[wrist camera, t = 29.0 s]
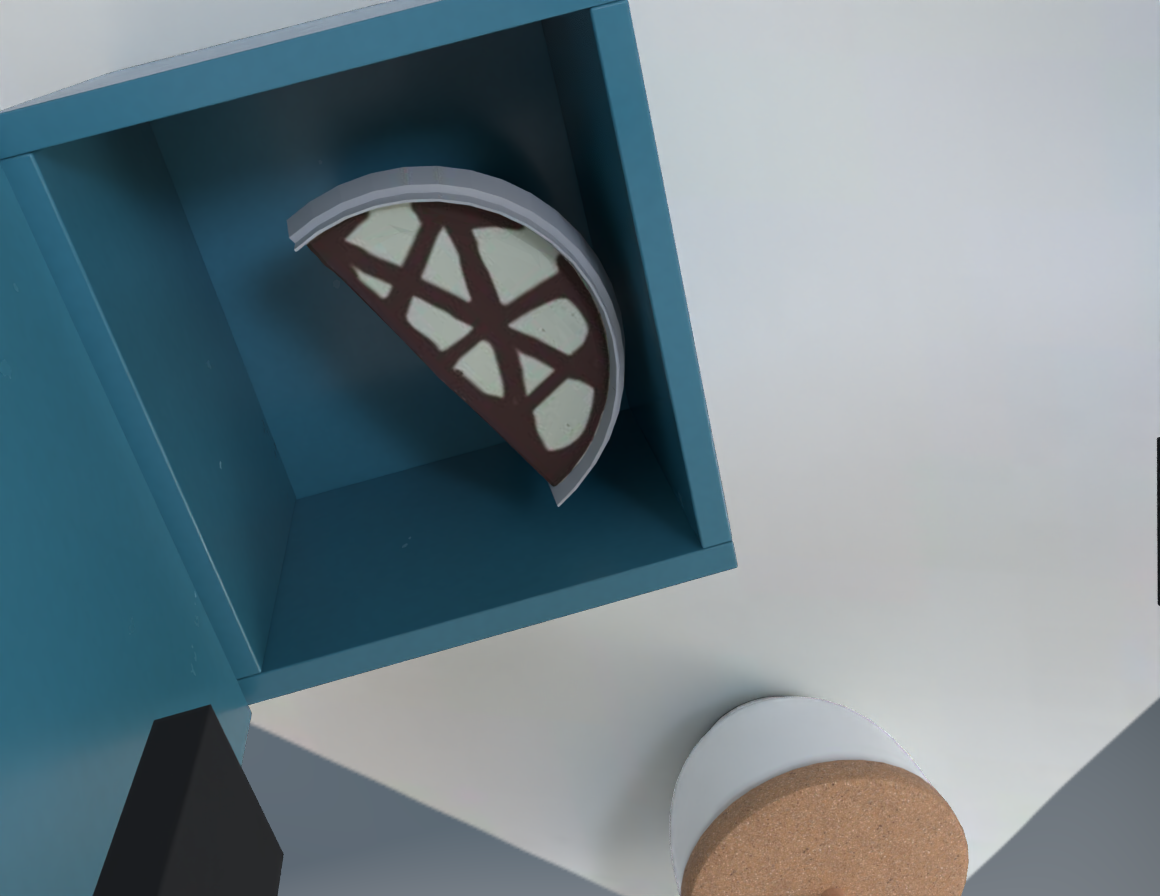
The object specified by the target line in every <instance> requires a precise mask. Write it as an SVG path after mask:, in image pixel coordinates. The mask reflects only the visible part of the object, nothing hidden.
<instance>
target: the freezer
mask: <svg viewBox="0 0 1160 896" xmlns="http://www.w3.org/2000/svg"><path fill="white" fill-rule="evenodd" d="M0 164H1V166H2V168H3V170H4V173H5V175H6V177H7V179H8V181H9V184H10V186H11V188H12V190H13V192H14V194H15V197H16V199H17V201H18V203H19V205H20V208H21V210H22V212H23V214H24V216H25V219H26V221H27V223H28V225H29V227H30V229H31V232H32V234H33V236H34V238H35V240H36V243H37V245H38V247H39V249H40V251H41V253H42V256H43V258H44V260H45V262H46V264H47V267H48V269H49V271H50V273H51V275H52V278H53V280H54V282H55V284H56V286H57V288H58V291H59V293H60V295H61V297H62V299H63V302H64V304H65V306H66V308H67V310H68V313H69V315H70V317H71V319H72V321H73V323H74V326H75V328H76V330H77V332H78V334H79V337H80V339H81V341H82V343H83V345H84V347H85V350H86V352H87V354H88V356H89V358H90V361H91V363H92V365H93V367H94V369H95V372H96V374H97V376H98V378H99V380H100V382H101V385H102V387H103V389H104V391H105V393H106V396H107V398H108V400H109V402H110V404H111V406H112V409H113V411H114V413H115V415H116V417H117V420H118V422H119V424H120V426H121V428H122V431H123V433H124V435H125V437H126V439H127V441H128V444H129V446H130V448H131V450H132V452H133V455H134V457H135V459H136V461H137V463H138V466H139V468H140V470H141V472H142V474H143V476H144V479H145V481H146V483H147V485H148V487H149V490H150V492H151V494H152V496H153V498H154V500H155V503H156V505H157V507H158V509H159V511H160V514H161V516H162V518H163V520H164V522H165V525H166V527H167V529H168V531H169V533H170V535H171V538H172V540H173V542H174V544H175V546H176V549H177V551H178V553H179V555H180V557H181V559H182V562H183V564H184V566H185V568H186V570H187V573H188V575H189V577H190V579H191V581H192V584H193V586H194V588H195V590H196V592H197V594H198V597H199V599H200V601H201V603H202V605H203V608H204V610H205V612H206V614H207V616H208V619H209V621H210V623H211V625H212V627H213V629H214V632H215V634H216V636H217V638H218V640H219V643H220V645H221V647H222V649H223V651H224V653H225V656H226V658H227V660H228V662H229V664H230V667H231V669H232V671H233V673H234V675H235V678H236V680H237V682H238V684H239V686H240V688H241V691H242V693H243V695H244V697H245V699H246V702H247V704H248V705H251V704H254V703H258V702H261V701H265V700H268V699H272V698H276V697H279V696H283V695H286V694H290V693H293V692H297V691H300V690H304V689H307V688H311V687H315V686H318V685H322V684H325V683H329V682H332V681H336V680H339V679H343V678H347V677H350V676H354V675H357V674H361V673H364V672H368V671H371V670H375V669H378V668H382V667H386V666H389V665H393V664H396V663H400V662H403V661H407V660H410V659H414V658H418V657H421V656H425V655H428V654H432V653H435V652H439V651H442V650H446V649H450V648H453V647H457V646H460V645H464V644H467V643H471V642H474V641H478V640H481V639H485V638H489V637H492V636H496V635H499V634H503V633H506V632H510V631H513V630H517V629H521V628H524V627H528V626H531V625H535V624H538V623H542V622H545V621H549V620H552V619H556V618H560V617H563V616H567V615H570V614H574V613H577V612H581V611H584V610H588V609H592V608H595V607H599V606H602V605H606V604H609V603H613V602H616V601H620V600H624V599H627V598H631V597H634V596H638V595H641V594H645V593H648V592H652V591H655V590H659V589H663V588H666V587H670V586H673V585H677V584H680V583H684V582H687V581H691V580H695V579H698V578H702V577H705V576H709V575H712V574H716V573H719V572H723V571H726V570H730V569H734V568H737V566H738V565H737V559H736V554H735V549H734V544H733V541H732V534H731V529H730V524H729V519H728V514H727V508H726V503H725V498H724V493H723V488H722V483H721V477H720V472H719V467H718V462H717V457H716V452H715V447H714V441H713V436H712V431H711V426H710V421H709V416H708V410H707V405H706V400H705V395H704V390H703V385H702V379H701V374H700V369H699V364H698V359H697V354H696V348H695V343H694V338H693V333H692V328H691V323H690V317H689V312H688V307H687V302H686V297H685V292H684V287H683V281H682V276H681V271H680V266H679V261H678V256H677V250H676V245H675V240H674V235H673V230H672V225H671V219H670V214H669V209H668V204H667V199H666V194H665V188H664V183H663V178H662V173H661V168H660V163H659V157H658V152H657V147H656V142H655V137H654V132H653V126H652V121H651V116H650V111H649V106H648V101H647V96H646V90H645V85H644V80H643V75H642V70H641V65H640V59H639V54H638V49H637V44H636V39H635V34H634V28H633V23H632V18H631V13H630V8H629V3H628V0H392V1H388V2H384V3H380V4H376V5H372V6H369V7H365V8H361V9H357V10H353V11H349V12H345V13H341V14H337V15H333V16H329V17H325V18H322V19H318V20H314V21H310V22H306V23H302V24H298V25H294V26H290V27H286V28H282V29H279V30H275V31H271V32H267V33H263V34H259V35H255V36H251V37H247V38H243V39H239V40H236V41H232V42H228V43H224V44H220V45H216V46H212V47H208V48H204V49H200V50H196V51H193V52H189V53H185V54H181V55H177V56H173V57H169V58H165V59H161V60H157V61H153V62H149V63H146V64H142V65H138V66H134V67H130V68H126V69H122V70H118V71H114V72H110V73H107V74H104V75H101V76H98V77H95V78H93V79H90V80H87V81H84V82H81V83H78V84H75V85H73V86H70V87H67V88H64V89H61V90H58V91H55V92H53V93H50V94H47V95H44V96H41V97H38V98H35V99H33V100H30V101H27V102H24V103H21V104H18V105H15V106H13V107H10V108H7V109H4V110H1V111H0ZM419 166H442V167H450V168H458V169H466V170H472V171H475V172H479V173H482V174H485V175H489V176H492V177H496V178H499V179H502V180H504V181H506V182H509V183H511V184H513V185H515V186H517V187H519V188H521V189H523V190H525V191H528V192H530V193H532V194H533V195H534V196H536V197H537V198H539V199H540V200H542V201H543V202H545V203H546V204H548V205H549V206H550V207H552V208H553V209H555V210H556V211H558V212H559V213H560V214H561V215H562V216H563V217H564V218H565V219H566V220H567V221H568V222H569V223H570V224H571V225H572V226H573V227H574V228H575V229H576V230H577V231H578V232H579V233H580V234H581V235H582V236H583V238H584V239H585V240H586V242H587V243H588V244H589V246H590V247H591V248H592V250H593V251H594V252H595V254H596V255H597V257H598V258H599V260H600V262H601V264H602V266H603V268H604V270H605V272H606V274H607V275H608V277H609V279H610V281H611V283H612V286H613V289H614V292H615V295H616V298H617V301H618V304H619V308H620V311H621V316H622V323H623V330H624V336H625V372H624V388H623V393H622V398H621V404H620V409H619V414H618V416H617V419H616V422H615V425H614V428H613V430H612V433H611V436H610V439H609V441H608V442H607V444H606V446H605V448H604V450H603V452H602V453H601V455H600V457H599V459H598V461H597V463H596V464H595V465H594V467H593V468H592V469H591V471H590V472H589V473H588V475H587V476H586V477H585V479H584V480H583V481H582V483H581V484H580V485H579V487H578V488H577V489H576V490H575V491H574V492H573V493H572V494H571V495H570V496H569V497H568V498H567V499H566V500H565V501H564V502H563V503H562V504H561V505H560V506H559V507H558V506H557V504H556V501H555V499H554V496H553V494H552V491H551V489H550V486H549V483H548V481H547V480H545V479H544V478H543V477H542V476H541V475H540V474H539V473H538V472H537V471H536V470H535V469H534V468H533V467H532V466H531V465H530V464H529V463H528V462H527V461H526V460H525V459H524V458H523V457H522V456H521V455H520V454H519V453H518V452H517V451H516V450H515V449H514V448H512V447H511V446H510V445H509V444H508V443H507V442H506V441H505V440H504V439H503V438H502V437H501V436H500V435H499V434H498V433H497V432H496V431H495V430H494V429H493V428H492V427H491V426H490V425H489V424H488V423H487V422H486V421H485V420H484V419H483V418H481V417H480V416H479V415H478V414H477V413H476V412H475V411H474V410H473V409H472V408H471V407H470V406H469V405H468V404H467V403H466V402H465V401H463V400H462V399H461V398H460V397H459V396H458V395H457V394H456V393H455V392H454V391H452V390H451V389H450V388H449V387H448V386H447V385H446V384H445V383H444V382H443V381H442V380H440V379H439V378H438V377H437V376H436V375H435V373H434V372H433V371H432V370H431V369H430V368H429V367H428V366H427V365H426V364H425V363H424V362H423V361H422V360H421V359H420V358H419V357H418V356H417V355H416V354H415V353H414V352H413V351H412V350H411V349H410V348H409V346H408V345H407V344H406V343H405V342H404V341H403V340H402V339H401V338H400V337H399V336H398V335H397V334H396V333H395V332H394V331H393V330H392V329H391V328H390V327H389V326H388V325H387V324H386V323H385V322H384V321H383V320H382V319H381V318H380V317H379V316H378V315H377V314H376V313H375V312H374V311H373V310H372V309H371V308H370V307H369V306H368V305H367V304H366V303H365V302H364V301H363V300H362V299H361V298H360V297H359V296H358V295H357V294H356V293H355V292H354V291H353V290H352V289H351V288H350V287H349V286H348V285H347V284H346V283H345V282H344V281H343V280H342V279H341V278H339V277H338V276H337V275H336V274H335V273H334V272H333V271H332V270H330V269H329V268H327V267H326V266H325V265H324V264H323V263H322V262H321V261H320V259H319V258H318V257H317V256H316V255H315V254H314V253H313V252H312V251H311V250H310V249H309V248H308V247H307V245H304V246H303V247H302V248H300V249H299V250H298V251H297V252H296V251H295V250H294V247H295V243H294V242H293V241H292V240H291V239H290V238H289V233H288V226H287V220H288V219H289V218H290V217H291V216H293V215H294V214H295V213H296V212H297V211H299V210H300V209H301V208H302V207H304V206H305V205H306V204H307V203H309V202H310V201H312V200H314V199H315V198H317V197H319V196H321V195H322V194H324V193H326V192H328V191H329V190H331V189H333V188H335V187H336V186H338V185H341V184H343V183H346V182H349V181H351V180H354V179H357V178H359V177H362V176H365V175H368V174H370V173H375V172H381V171H386V170H391V169H396V168H401V167H419Z"/></svg>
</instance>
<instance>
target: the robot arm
mask: <svg viewBox="0 0 1160 896" xmlns="http://www.w3.org/2000/svg"><path fill="white" fill-rule="evenodd" d="M1157 541H1158V605H1159V606H1160V437H1159V438H1157ZM283 855H284V854H283V852H282V850H281V848H280V846H279V844H278V842H277V840H276V837H275V836H274V833H273V831H272V829H271V827H270V825H269V823H268V821H267V819H266V817H265V815H264V813H263V811H262V809H261V807H260V805H259V803H258V800H257V798H256V796H255V794H254V792H253V790H252V788H251V786H250V784H249V782H248V780H247V778H246V776H245V774H244V772H243V770H242V768H241V765H240V763H239V761H238V759H237V757H236V755H235V753H234V751H233V749H232V747H231V745H230V743H229V741H228V739H227V737H226V735H225V733H224V731H223V728H222V726H221V724H220V722H219V720H218V718H217V716H216V714H215V712H214V710H213V708H212V706H211V704H210V705H206V706H203V707H199V708H196V709H192V710H188V711H185V712H181V713H178V714H174V715H171V716H167V717H164V718H160V719H156V720H154V722H153V725H152V727H151V730H150V733H149V736H148V739H147V742H146V745H145V747H144V750H143V753H142V756H141V759H140V762H139V765H138V767H137V770H136V773H135V776H134V779H133V782H132V785H131V787H130V790H129V793H128V796H127V799H126V802H125V805H124V807H123V810H122V813H121V816H120V819H119V822H118V825H117V827H116V830H115V833H114V836H113V839H112V842H111V845H110V847H109V850H108V853H107V856H106V859H105V862H104V865H103V868H102V870H101V873H100V876H99V879H98V882H97V885H96V888H95V890H94V893H93V896H277V895H278V888H279V881H280V875H281V868H282V861H283Z"/></svg>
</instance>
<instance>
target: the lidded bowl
mask: <svg viewBox="0 0 1160 896" xmlns="http://www.w3.org/2000/svg"><path fill="white" fill-rule="evenodd" d="M670 849H671V857H672V865H673V869H674V873H675V878H676V882H677V886H678V890H679V895H680V896H961V894H962V891H963V888H964V885H965V883H966V877H967V869H968V862H969V860H968V845H967V841H966V838H965V834H964V831H963V828H962V826H961V825H960V823H959V821H958V819H957V817H956V815H955V814H954V812H953V811H952V809H951V807H950V806H949V805H948V803H947V802H946V801H945V799H944V798H943V797H942V796H941V795H940V794H939V793H938V792H937V790H936V789H935V788H934V787H933V786H932V784H931V783H930V781H929V780H928V779H927V777H926V776H925V774H924V773H923V772H922V770H921V769H920V767H919V766H918V765H917V764H916V763H915V761H914V760H913V759H912V758H911V757H910V756H909V755H908V754H907V752H906V751H905V750H904V749H903V748H902V747H901V746H900V745H899V744H898V743H897V741H896V740H895V739H894V738H892V737H891V736H890V735H889V734H888V733H887V732H885V731H884V730H883V729H882V728H881V727H879V726H878V725H877V724H875V723H874V722H873V721H871V720H870V719H869V718H867V717H865V716H863V715H861V714H859V713H858V712H856V711H854V710H852V709H850V708H848V707H846V706H844V705H840V704H837V703H834V702H831V701H827V700H823V699H819V698H812V697H797V696H789V697H767V698H761V699H757V700H753V701H750V702H747V703H745V704H742V705H740V706H738V707H736V708H735V709H733V710H731V711H729V712H728V713H727V714H725V715H724V716H723V717H721V718H720V719H719V720H718V721H717V722H716V723H715V724H714V725H713V726H712V727H711V729H710V730H709V731H708V732H707V733H706V734H705V735H704V736H703V737H702V738H701V739H700V741H699V742H698V743H697V745H696V746H695V747H694V748H693V750H692V751H691V753H690V755H689V756H688V758H687V760H686V762H685V763H684V765H683V767H682V769H681V771H680V774H679V777H678V779H677V782H676V785H675V789H674V793H673V798H672V804H671V809H670Z"/></svg>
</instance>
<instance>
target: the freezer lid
mask: <svg viewBox="0 0 1160 896" xmlns="http://www.w3.org/2000/svg"><path fill="white" fill-rule="evenodd" d="M210 704H211V706H212V708H213V710H214V712H215V714H216V716H217V718H218V720H219V722H220V724H221V726H222V728H223V731H224V733H225V735H226V737H227V739H228V741H229V743H230V745H231V747H232V749H233V751H234V753H235V755H236V757H237V759H238V761H239V763H240V765H241V766H242V761H243V756H244V751H245V746H246V741H247V736H248V731H249V725H250V720H251V715H252V712H251V710H250V708H249V706H248V704H247V702H246V699H245V697H244V695H243V693H242V691H241V688H240V686H239V684H238V682H237V680H236V678H235V675H234V673H233V671H232V669H231V667H230V664H229V662H228V660H227V658H226V656H225V653H224V651H223V649H222V647H221V645H220V643H219V640H218V638H217V636H216V634H215V632H214V629H213V627H212V625H211V623H210V621H209V619H208V616H207V614H206V612H205V610H204V608H203V605H202V603H201V601H200V599H199V597H198V594H197V592H196V590H195V588H194V586H193V584H192V581H191V579H190V577H189V575H188V573H187V570H186V568H185V566H184V564H183V562H182V559H181V557H180V555H179V553H178V551H177V549H176V546H175V544H174V542H173V540H172V538H171V535H170V533H169V531H168V529H167V527H166V525H165V522H164V520H163V518H162V516H161V514H160V511H159V509H158V507H157V505H156V503H155V500H154V498H153V496H152V494H151V492H150V490H149V487H148V485H147V483H146V481H145V479H144V476H143V474H142V472H141V470H140V468H139V466H138V463H137V461H136V459H135V457H134V455H133V452H132V450H131V448H130V446H129V444H128V441H127V439H126V437H125V435H124V433H123V431H122V428H121V426H120V424H119V422H118V420H117V417H116V415H115V413H114V411H113V409H112V406H111V404H110V402H109V400H108V398H107V396H106V393H105V391H104V389H103V387H102V385H101V382H100V380H99V378H98V376H97V374H96V372H95V369H94V367H93V365H92V363H91V361H90V358H89V356H88V354H87V352H86V350H85V347H84V345H83V343H82V341H81V339H80V337H79V334H78V332H77V330H76V328H75V326H74V323H73V321H72V319H71V317H70V315H69V313H68V310H67V308H66V306H65V304H64V302H63V299H62V297H61V295H60V293H59V291H58V288H57V286H56V284H55V282H54V280H53V278H52V275H51V273H50V271H49V269H48V267H47V264H46V262H45V260H44V258H43V256H42V253H41V251H40V249H39V247H38V245H37V243H36V240H35V238H34V236H33V234H32V232H31V229H30V227H29V225H28V223H27V221H26V219H25V216H24V214H23V212H22V210H21V208H20V205H19V203H18V201H17V199H16V197H15V194H14V192H13V190H12V188H11V186H10V184H9V181H8V179H7V177H6V175H5V173H4V170H3V168H2V166H1V164H0V896H93V893H94V890H95V888H96V885H97V882H98V879H99V876H100V873H101V870H102V868H103V865H104V862H105V859H106V856H107V853H108V850H109V847H110V845H111V842H112V839H113V836H114V833H115V830H116V827H117V825H118V822H119V819H120V816H121V813H122V810H123V807H124V805H125V802H126V799H127V796H128V793H129V790H130V787H131V785H132V782H133V779H134V776H135V773H136V770H137V767H138V765H139V762H140V759H141V756H142V753H143V750H144V747H145V745H146V742H147V739H148V736H149V733H150V730H151V727H152V725H153V722H154V720H156V719H160V718H164V717H167V716H171V715H174V714H178V713H181V712H185V711H188V710H192V709H196V708H199V707H203V706H206V705H210Z"/></svg>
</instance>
